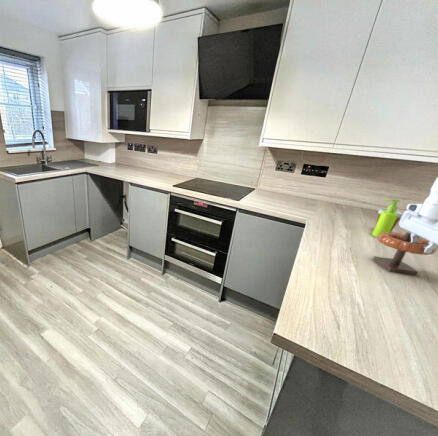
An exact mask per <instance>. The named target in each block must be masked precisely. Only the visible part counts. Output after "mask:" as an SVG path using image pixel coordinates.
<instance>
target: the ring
mask: <svg viewBox="0 0 438 436" xmlns="http://www.w3.org/2000/svg"><path fill="white" fill-rule="evenodd" d="M404 236H405V234H403V233H399V232H398V233H396V232H390V233H389V232H387V233H381V234H379V235H378V237H377V239H378V241H379V243H381V244H383V245H385V246H387V247H389V248H392V249H395V250H401V251H405V252H406V253H409V254H415V255H422V256H427V255H433V254H436V252H437V250H438V249H437V248H435V249H433V250H432V252H431V253H430V254H429V253H425V252H423V251H422V248H423V247H427V246H428V245H430V244H429V242H430V241H428V240H426V239H423V238H419V243H420V244H415V243H410V242H406V241H402V240H403V238H404Z"/></svg>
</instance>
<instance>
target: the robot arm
mask: <svg viewBox="0 0 438 436" xmlns="http://www.w3.org/2000/svg"><path fill="white" fill-rule="evenodd" d="M398 226H399V228H401V229H404V230H406V231H408V232H409V233H411V242H410V243H415V244H420V243H419V239H420V238H422V239H424V240H426V241H428V242H429V244H430V245H428V246H427V247H423V248H422V251H423V252H425V253H429V254H428V255H431V254H430V253H431V252H432V250H433V249H435V248H436V249H437V248H438V176H437V177H436V178H435V180H434V182H433V184H432V186H431V187H430V191H429V195H428V197H426V198H425V199H424V201H423V203H409V204H407V205H406V210H405V211H404V212H403V213H402V217H401V218H400V219H399V221H398Z"/></svg>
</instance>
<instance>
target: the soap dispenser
mask: <svg viewBox="0 0 438 436" xmlns="http://www.w3.org/2000/svg"><path fill="white" fill-rule="evenodd" d="M384 200H385V201H387V202H388V201H389V202H390V201H391V204H389V205H388V206H387V207H386V209H387V210H386V211H382V213H381V215H380V217H379V219H378V222H377V224H376V223H375V225H376V226H375V225H374V229H373V231H372V233H371V236H373V237H375V238H378V235H379V234H381V233H387V232H389V233H391V232H392V231H391V229H392V227H393V224H394V222H395V220H396V218H397V216H398V214H396V213H395V212H396V211H398V206H397V204H398V203H401V200H399V199H395V198H384ZM390 231H391V232H390Z"/></svg>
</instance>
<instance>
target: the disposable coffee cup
mask: <svg viewBox="0 0 438 436" xmlns="http://www.w3.org/2000/svg"><path fill="white" fill-rule="evenodd" d="M386 210H387V208H380V209H379V210H378V211H377V212H378V214H377V218H376V221H375V225H374V227H375V226H376V224H377V222H378V219H379V217H380V215H381V213H382V211H386ZM395 213H396V214H398V216H397V218H396V220H395V222H394V224H393V227H392V229H391V231H390V233H392V231H393V230H394V229H395V227H396V225H397V224H398V223H399V222H400V219H401V217H402V215H403V212H401V211H399V210H396V212H395Z"/></svg>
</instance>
